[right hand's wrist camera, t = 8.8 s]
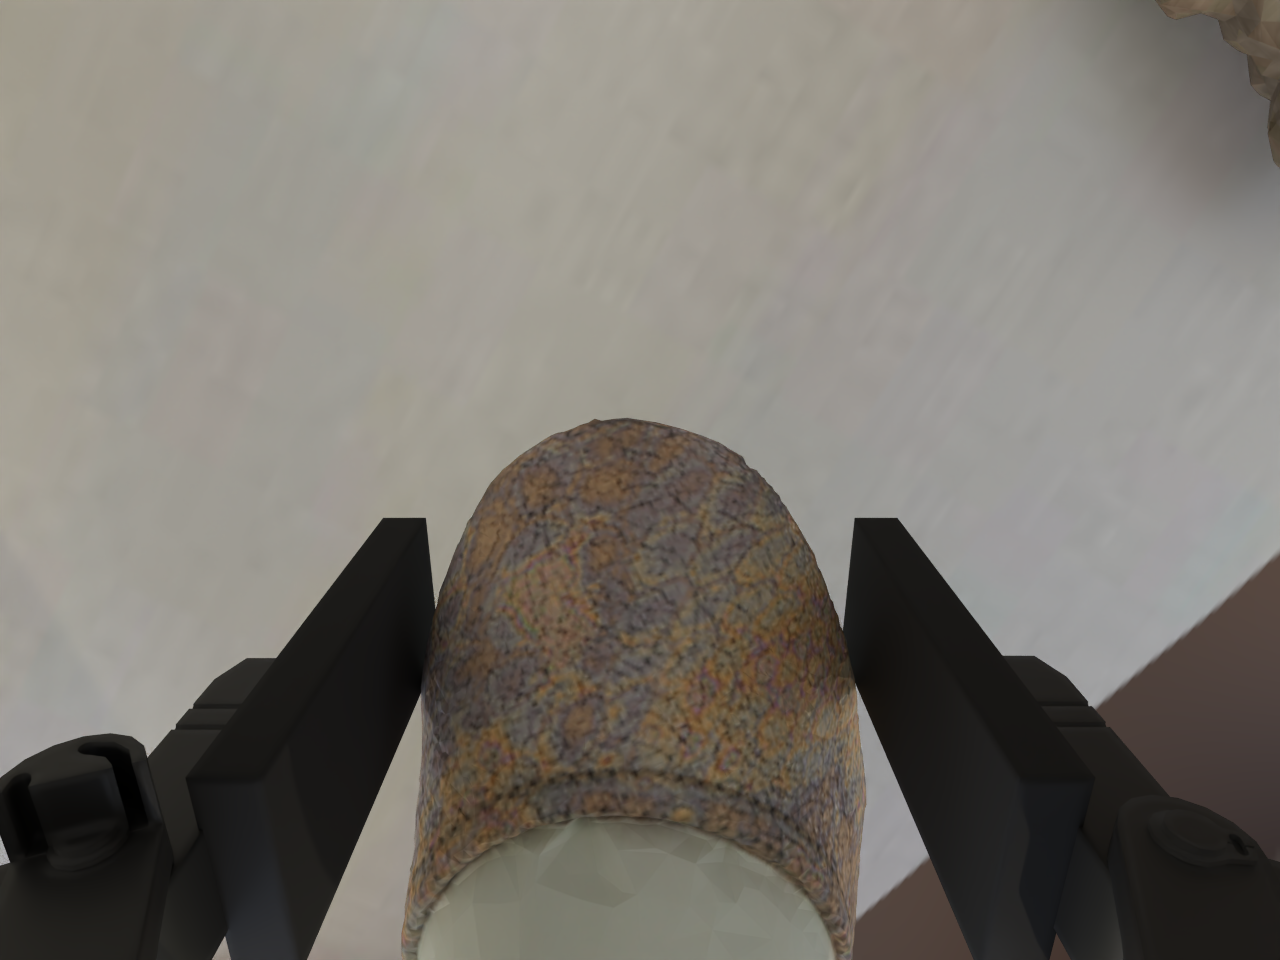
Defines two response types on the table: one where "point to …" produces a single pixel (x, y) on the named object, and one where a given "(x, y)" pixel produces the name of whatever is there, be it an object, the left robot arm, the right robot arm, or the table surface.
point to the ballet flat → (635, 718)
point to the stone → (1247, 44)
